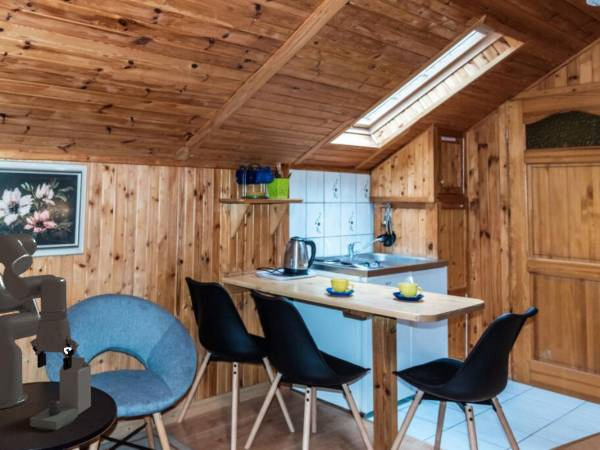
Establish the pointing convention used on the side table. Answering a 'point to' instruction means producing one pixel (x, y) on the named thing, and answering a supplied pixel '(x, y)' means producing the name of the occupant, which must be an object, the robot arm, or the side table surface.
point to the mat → (51, 429)
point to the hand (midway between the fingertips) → (54, 367)
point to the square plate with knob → (53, 416)
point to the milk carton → (76, 385)
